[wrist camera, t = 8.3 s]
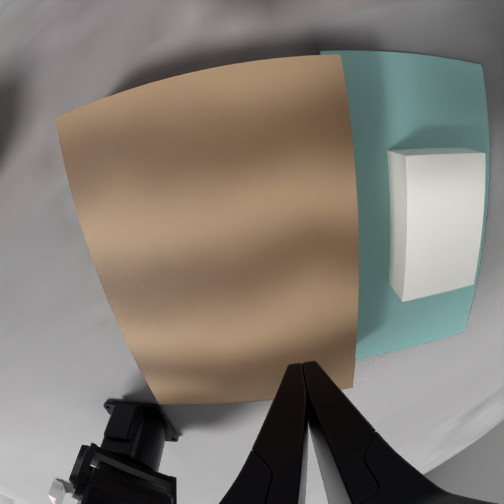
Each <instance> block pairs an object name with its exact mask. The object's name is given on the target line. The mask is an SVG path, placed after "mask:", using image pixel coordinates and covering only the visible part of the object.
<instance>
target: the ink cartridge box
mask: <svg viewBox="0 0 504 504" xmlns="http://www.w3.org/2000/svg"><path fill="white" fill-rule="evenodd" d="M65 494H66V492H65V489H64V486H63V483H62V482H60V481H58V480H56V479H54V481H53V483H52V486H51V488H50V491H49V493H48V495H49V497H50V499H51V501H52V502H53V503H54V504H62V502H63V499H64V496H65Z"/></svg>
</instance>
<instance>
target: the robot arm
mask: <svg viewBox="0 0 504 504" xmlns="http://www.w3.org/2000/svg"><path fill="white" fill-rule="evenodd" d="M104 407H105V409H106V410H107V412H108V413H109V414H110V419H109V421H108V424H107V427H106V429H105V432H104V439H103V441H102V444H101V447H98V446H97V445H96V444H94V443H91V445H90V446H87V445H82V446H81V449H80V451H79V454H78V456H77V459H76V462H75V464H74V467H73V470H72V472H71V475H70V478H69V481H70V483H71V485H72V490H73V494H72V497H73V498H75V499H77V500H78V503H77V504H177V495H176V477H173V476H167V475H165V474H162V473H159V472H158V470H159V466H160V461H161V457H162V452H163V448H164V443H165V441H173V442H177V441H178V438H179V437H178V435H177V434H176V432H175V430H174V429H173V427H172V426H171V424H170V422H169V421H168V419H167V417H166V416H165V414H164V412H163V411H162V409H161V407H160V406H158V405H156V404H137V403H120V402H105V403H104ZM308 424H309V429H310V434H311V437H312V441H313V445H314V449H315V453H316V457H317V460H318V464H319V468H320V472H321V476H322V480H323V483H324V487H325V491H326V495H327V499H328V503H329V504H497V503H492V502H486V501H481V500H477V499H472V498H468V497H464V496H460V495H456V494H452V493H450V492H447V491H445V490H443V489H441V488H440V487H438V486H437V485H435V484H434V483H433V482H431V481H430V480H429V479H428V478H426V477H425V476H424V475H423V474H421V473H420V472H419V471H418V470H416V469H415V468H414V467H413V466H412V465H410V464H409V463H408V462H407V461H406V460H404V459H403V458H402V457H401V456H400V455H399V454H398V453H397V452H396V451H394V450H393V448H392V447H391V446H390V445H389V444H388V443H387V442H386V441H385V440H384V439H383V438H382V437H381V436H380V434H379V433H378V432H375V431H376V430H375V429H374V428H373V427H372V425H371V424H370V423H369V422H368V421H367V420H366V419H365V417H364V416H363V415H362V414H361V413H360V412H359V411H358V409H357V408H356V407H355V406H354V405H353V404H352V402H351V401H350V400H349V399H348V398H347V397H346V396H345V394H344V393H343V392H342V391H341V390H340V389H339V387H338V386H337V385H336V384H335V383H334V382H333V380H332V379H331V378H330V377H329V376H328V374H327V373H326V372H325V371H324V370H323V369H322V367H321V366H320V365H319V364H318V363H317V362H316V361H314V360H313V361H306V362H303V363H302V364H301V363H292V364H288V366H287V368H286V370H285V373H284V375H283V378H282V380H281V383H280V385H279V388H278V390H277V393H276V395H275V397H274V400H273V402H272V405H271V407H270V409H269V412H268V414H267V416H266V419H265V421H264V423H263V425H262V428H261V430H260V432H259V434H258V437H257V439H256V441H255V443H254V445H253V448H252V450H251V452H250V454H249V456H248V458H247V460H246V462H245V464H244V466H243V468H242V470H241V471H240V473H239V475H238V477H237V478H236V480H235V481H234V483H233V484H232V486H231V488H230V489H229V490H228V492H227V493H226V495H225V496H224V497H223V499H222V500H221V501H220V503H219V504H305V496H306V479H307V459H308ZM90 464H92V465H94V466H96V467H95V468H94V467H92V466H90Z"/></svg>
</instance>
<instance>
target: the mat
mask: <svg viewBox="0 0 504 504" xmlns="http://www.w3.org/2000/svg"><path fill="white" fill-rule="evenodd" d="M319 54H320V55H334V54H340V56H341V61H342V67H343V73H344V79H345V85H346V92H347V99H348V106H349V114H350V122H351V130H352V140H353V150H354V161H355V173H356V188H357V206H358V234H359V295H358V323H357V341H356V355H355V359H359V358H364V357H369V356H374V355H379V354H383V353H388V352H392V351H396V350H400V349H404V348H409V347H412V346H416V345H420V344H424V343H428V342H431V341H435V340H438V339H442V338H445V337H449V336H452V335H455V334H458V333H462V332H464V331H465V328H466V324H467V320H468V317H469V313H470V309H471V305H472V301H473V297H474V292H475V288H476V283H477V278H478V273H479V268H480V262H481V256H482V250H483V243H484V235H485V227H486V218H487V207H488V192H489V125H488V111H487V100H486V91H485V83H484V76H483V70H482V65H480V64H476V63H471V62H466V61H461V60H455V59H449V58H443V57H436V56H428V55H420V54H410V53H399V52H384V51H320V52H319ZM461 147H463V148H467V149H471V150H475V151H479V152H483V153H485V162H486V167H485V200H484V214H483V225H482V234H481V243H480V250H479V257H478V263H477V269H476V275H475V280H474V285H470V286H466V287H462V288H459V289H455V290H451V291H447V292H443V293H439V294H435V295H431V296H426V297H422V298H418V299H413V300H409V301H404V302H402V301H401V299H400V298H399V296H398V295H397V294H396V292H395V291H394V289H393V288H392V286H391V285H390V284H389V267H390V192H389V172H388V157H387V150H402V149H422V148H461Z"/></svg>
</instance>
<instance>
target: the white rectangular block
mask: <svg viewBox="0 0 504 504" xmlns="http://www.w3.org/2000/svg"><path fill="white" fill-rule="evenodd" d="M387 157H388V172H389V192H390V267H389V284H390V285H391V286H392V288H393V289H394V291H395V292H396V294H397V295H398V296H399V298H400V299H401V301H402V302H404V301H409V300H413V299H418V298H422V297H426V296H431V295H435V294H439V293H443V292H447V291H451V290H455V289H459V288H462V287H466V286H470V285H474V280H475V275H476V269H477V263H478V257H479V250H480V243H481V234H482V225H483V214H484V200H485V167H486V162H485V153H483V152H479V151H475V150H471V149H467V148H463V147H461V148H422V149H402V150H387Z"/></svg>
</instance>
